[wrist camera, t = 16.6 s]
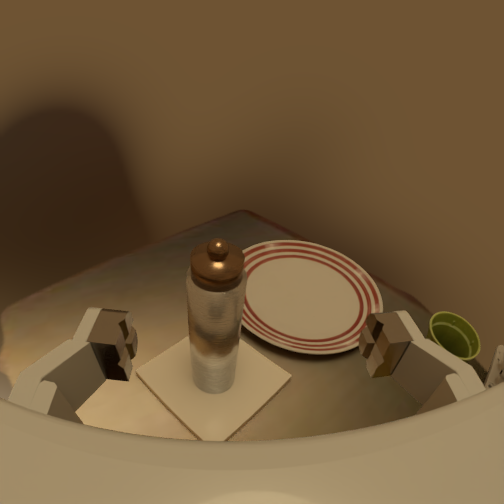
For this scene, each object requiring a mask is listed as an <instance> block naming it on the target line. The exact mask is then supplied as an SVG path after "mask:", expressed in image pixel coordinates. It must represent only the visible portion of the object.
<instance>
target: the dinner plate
mask: <svg viewBox="0 0 504 504" xmlns="http://www.w3.org/2000/svg"><path fill="white" fill-rule="evenodd" d="M242 252H243V253H244V256H245V261H244V270H245V271H246V273H247V285H246V293H245V301H244V308H243V316H242V325H244V326H245V327H246V328H247V329H248V330H249V331H251V332H252V333H253V334H255V335H256V336H258V337H259V338H261V339H263V340H265V341H266V342H268V343H271V344H273V345H275V346H278V347H280V348H283V349H286V350H290V351H294V352H298V353H305V354H317V355H322V354H335V353H340V352H344V351H347V350H350V349H353V348H355V347H357V346H359V336H360V333H361V331H362V330H363V329H364V328H365V327H366V326H367V325H366V323H365V321H366V318H367V316H368V315H369V314H370V313H382V312H383V303H382V298H381V295H380V292H379V290H378V288H377V286H376V284H375V282H374V281H373V280H372V278H371V277H370V276H369V275H368V274H367V272H366V271H365V270H364V269H362V268H361V267H360V266H359V265H358V264H356V263H355V262H354V261H352V260H351V259H349V258H348V257H346V256H345V255H343V254H341V253H339V252H337V251H335V250H332V249H330V248H327V247H324V246H321V245H318V244H314V243H310V242H304V241H295V240H277V241H269V242H264V243H260V244H257V245H254V246H251V247H249V248H247V249H245V250H243V251H242Z"/></svg>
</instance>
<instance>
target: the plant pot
mask: <svg viewBox="0 0 504 504" xmlns="http://www.w3.org/2000/svg"><path fill="white" fill-rule="evenodd" d="M426 339H429V340H431V341H432V342H434V343H436V344H437V345H439V346H440V347H442V348H443V349H445V350H447V351H448V352H450V353H451V354H453V355H455V356H456V357H458V358H459V359H461V360H462V361H464V362H467V361H469V360H472V359H474V358H475V357H476V356H477V355H478V353H479V351H480V340H479V337H478V334H477V333H476V331H475V329H474V328H473V327H472V326H471V325H470V324H469V323H468V322H467V321H466V320H465V319H464V318H462V317H460V316H459V315H456V314H454V313H451V312H439V313H436V314H434V315H433V316H432V318H431V320H430V322H429V330H428V335H427V337H426Z"/></svg>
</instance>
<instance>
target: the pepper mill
mask: <svg viewBox="0 0 504 504" xmlns="http://www.w3.org/2000/svg"><path fill="white" fill-rule="evenodd" d="M190 259H191V266H190V267H189V268H188V270H187V273H186V288H187V309H188V327H189V342H190V355H191V367H192V378H193V382H194V384H195V385H196V387H197V388H199V389H200V390H201V391H203V392H205V393H209V394H220V393H223V392H225V391H227V390H228V389H230V388H231V386H232V385H233V383H234V380H235V372H236V364H237V356H238V348H239V340H240V332H241V324H242V316H243V308H244V301H245V293H246V285H247V273H246V271H245V270H244V261H245V256H244V253H243V252H242V250H241V249H239V248H238V247H237V246H235V245H233V244H230V243H227V242H226V241H225V240H223V239H220V238H216V239H213V240H211V241H210V242H205V243H202V244H200V245H198V246H196V247H195V248H194V249H193V250H192V252H191V256H190Z"/></svg>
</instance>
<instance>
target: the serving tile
mask: <svg viewBox="0 0 504 504" xmlns="http://www.w3.org/2000/svg"><path fill="white" fill-rule="evenodd" d="M135 372H136V374H137V376H138V377H139V378H140V379H141V381H142V382H143V383H144V384H145V385H146V386H147V387H148V388H149V390H150V391H151V392H152V393H153V394H154V395H155V396H156V397H157V398H158V399H159V400H160V402H161V403H162V404H163V405H164V406H165V407H166V408H167V409H168V410H169V411H170V412H171V413H172V414H173V415H174V416H175V417H176V418H177V419H178V420H179V421H180V422H181V423H182V424H183V425H184V426H185V427H186V428H187V429H188V430H189V431H190V432H191V433H193V434H194V435H195V436H196V437H197V438H198V439H199V440H202V441H227V440H229V439H230V438H231V437H232V436H233V435H234V434H235V433H236V432H238V431H239V430H240V429H241V428H242V427H243V426H244V425H245V424H246V423H247V422H248V421H250V420H251V419H252V418H253V417H254V416H255V415H256V414H257V413H258V412H259V411H260V410H261V409H262V408H263V407H264V406H265V405H266V404H267V403H268V402H269V401H270V400H271V399H272V398H273V397H274V396H275V395H276V394H277V393H278V392H279V391H280V390H281V389H282V388H283V387H284V386H285V385H286V384H287V383H288V382H289V381H290V379H291V377H292V375H290V374H289V373H287V372H286V371H285V370H283V369H282V368H280V367H279V366H277V365H276V364H275V363H273V362H272V361H270V360H269V359H268V358H266V357H265V356H263V355H262V354H261V353H259V352H258V351H256V350H255V349H254V348H252V347H251V346H250V345H248V344H247V343H245V342H244V341H243V340H241V339H240V340H239V348H238V356H237V364H236V372H235V380H234V383H233V385H232V386H231V388H230V389H228V390H227V391H225V392H223V393H220V394H209V393H205V392H203V391H201V390H200V389H199V388H197V387H196V385H195V384H194V382H193V378H192V367H191V355H190V342H189V336H187V337H186V338H184V339H183V340H181V341H180V342H178V343H177V344H175V345H173V346H172V347H170V348H169V349H167V350H166V351H164V352H163V353H161V354H159V355H158V356H156V357H155V358H153V359H152V360H150V361H148V362H147V363H145V364H144V365H142V366H141V367H139V368H137V369H136V370H135Z"/></svg>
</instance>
